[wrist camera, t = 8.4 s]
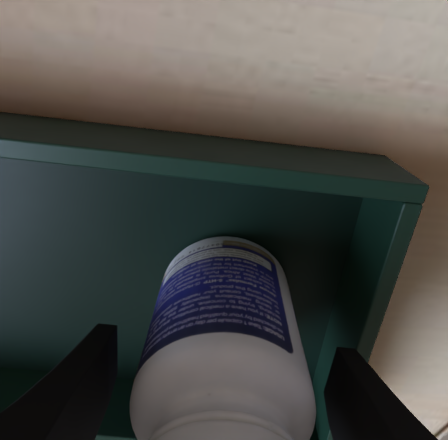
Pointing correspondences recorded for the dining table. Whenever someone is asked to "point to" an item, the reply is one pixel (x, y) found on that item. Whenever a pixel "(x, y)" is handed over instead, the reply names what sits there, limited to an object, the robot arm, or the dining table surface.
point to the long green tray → (185, 239)
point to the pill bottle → (223, 351)
